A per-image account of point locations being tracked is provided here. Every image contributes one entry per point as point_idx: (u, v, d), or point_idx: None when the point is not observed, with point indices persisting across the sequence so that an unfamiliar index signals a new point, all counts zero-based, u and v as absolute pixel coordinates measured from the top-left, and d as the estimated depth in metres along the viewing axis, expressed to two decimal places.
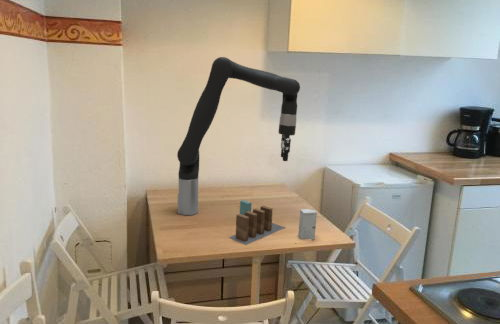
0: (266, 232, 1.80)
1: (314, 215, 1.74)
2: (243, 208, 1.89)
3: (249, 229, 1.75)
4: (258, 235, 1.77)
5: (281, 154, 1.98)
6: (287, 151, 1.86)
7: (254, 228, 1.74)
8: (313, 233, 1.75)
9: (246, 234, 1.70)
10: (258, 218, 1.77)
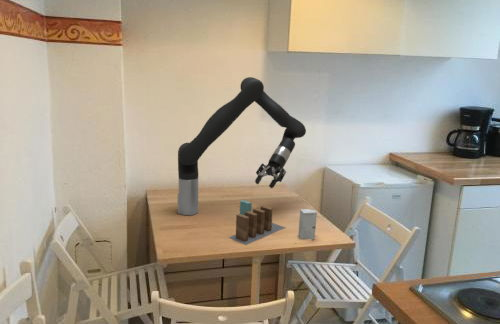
0: (266, 232, 1.80)
1: (314, 215, 1.74)
2: (243, 208, 1.89)
3: (249, 229, 1.75)
4: (258, 235, 1.77)
5: (257, 180, 1.99)
6: (280, 180, 1.94)
7: (254, 228, 1.74)
8: (313, 233, 1.75)
9: (246, 234, 1.70)
10: (258, 218, 1.77)
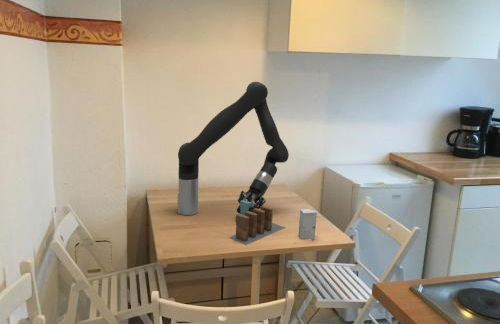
0: (266, 232, 1.80)
1: (314, 215, 1.74)
2: (243, 208, 1.89)
3: (249, 229, 1.75)
4: (258, 235, 1.77)
5: (239, 209, 1.91)
6: (257, 208, 1.87)
7: (254, 228, 1.74)
8: (313, 233, 1.75)
9: (246, 234, 1.70)
10: (258, 218, 1.77)
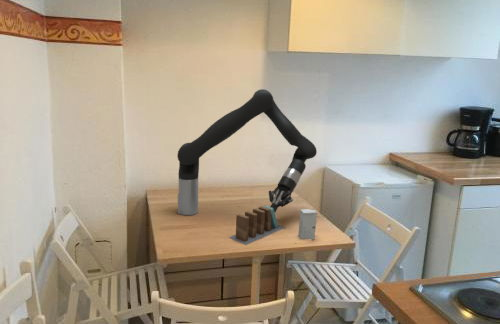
0: (266, 232, 1.80)
1: (314, 215, 1.74)
2: None
3: (249, 229, 1.75)
4: (258, 235, 1.77)
5: None
6: (282, 205, 1.85)
7: (254, 228, 1.74)
8: (313, 233, 1.75)
9: (246, 234, 1.70)
10: (258, 218, 1.77)
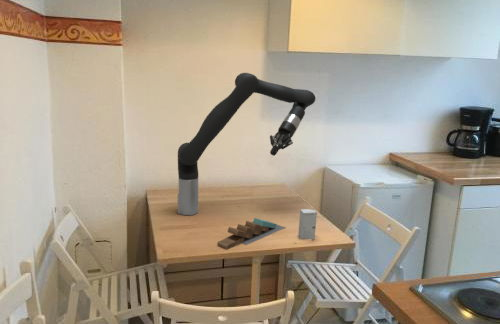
0: (266, 232, 1.80)
1: (314, 215, 1.74)
2: None
3: None
4: (258, 235, 1.77)
5: (272, 151, 1.94)
6: (282, 147, 1.94)
7: (246, 235, 1.70)
8: (313, 233, 1.75)
9: (239, 242, 1.68)
10: None
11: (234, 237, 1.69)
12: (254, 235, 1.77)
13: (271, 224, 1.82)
